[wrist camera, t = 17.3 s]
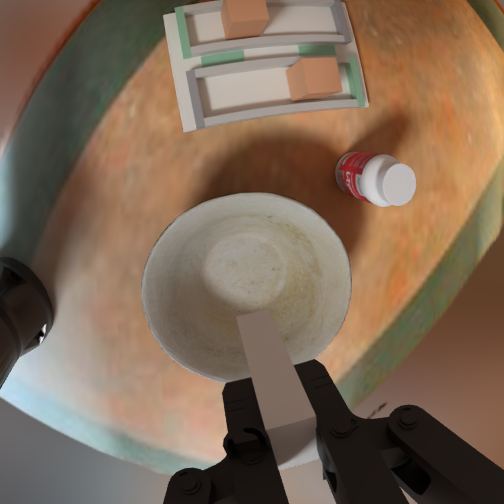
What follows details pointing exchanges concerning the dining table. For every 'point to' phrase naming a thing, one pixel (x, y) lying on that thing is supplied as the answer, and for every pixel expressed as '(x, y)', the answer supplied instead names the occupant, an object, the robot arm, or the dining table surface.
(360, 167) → the pill bottle
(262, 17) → the tab
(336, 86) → the tab
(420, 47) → the dining table surface
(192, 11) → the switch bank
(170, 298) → the bowl
